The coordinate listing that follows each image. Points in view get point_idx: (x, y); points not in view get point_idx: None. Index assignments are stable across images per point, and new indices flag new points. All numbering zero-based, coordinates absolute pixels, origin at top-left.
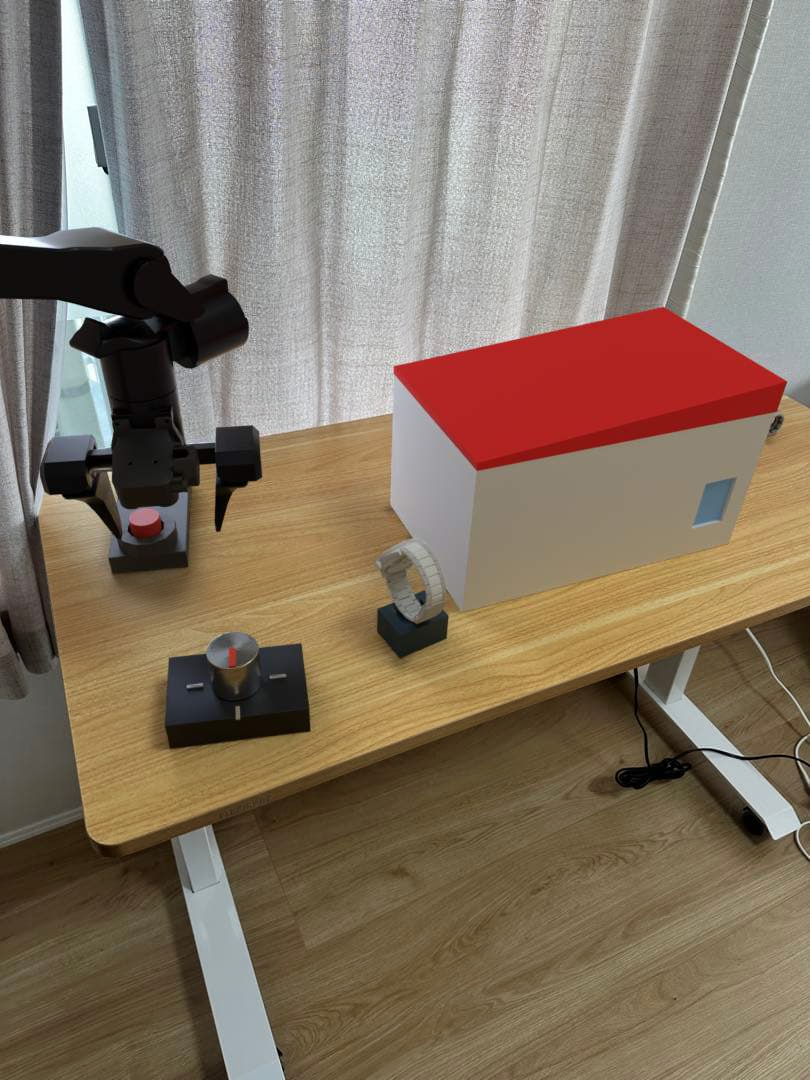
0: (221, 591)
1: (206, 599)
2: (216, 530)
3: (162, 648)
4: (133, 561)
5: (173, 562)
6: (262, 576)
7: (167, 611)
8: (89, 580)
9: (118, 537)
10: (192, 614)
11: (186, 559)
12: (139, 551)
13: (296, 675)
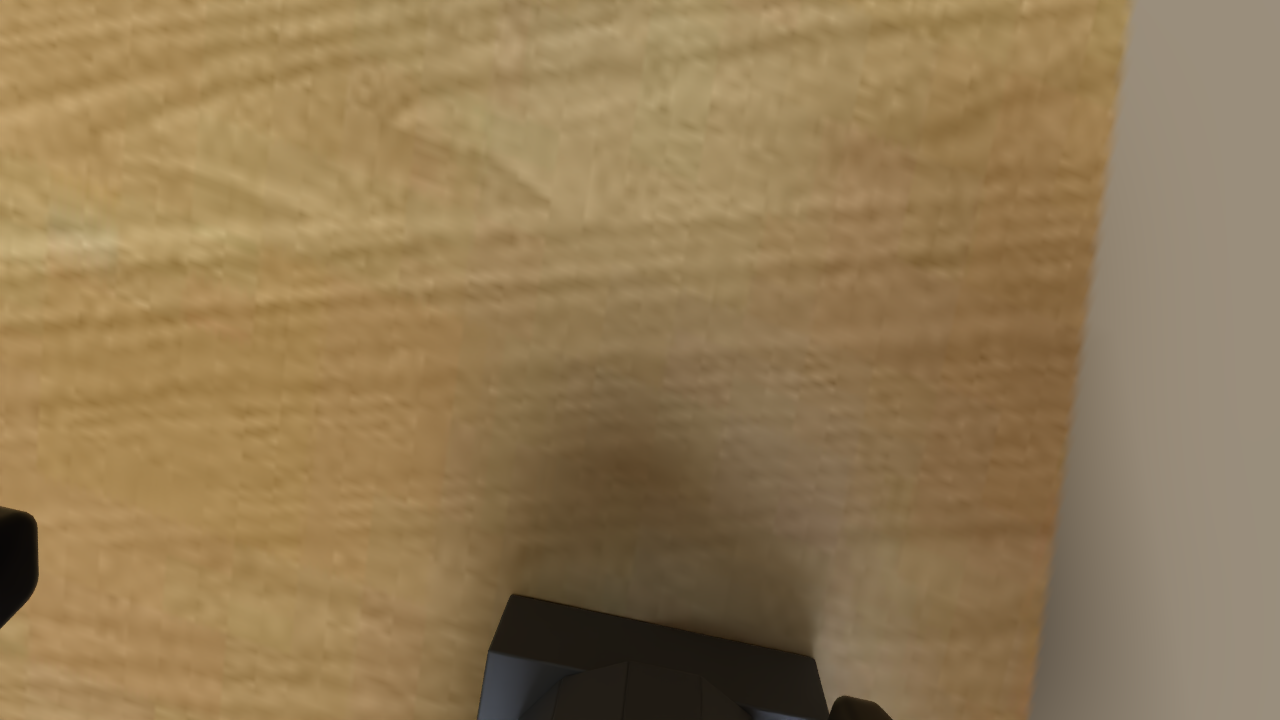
0: (396, 401)
1: (464, 373)
2: (3, 515)
3: (696, 121)
4: (724, 676)
5: (561, 624)
6: (216, 433)
7: (636, 357)
8: (908, 651)
9: (869, 713)
10: (535, 299)
11: (503, 619)
12: (691, 703)
13: None
